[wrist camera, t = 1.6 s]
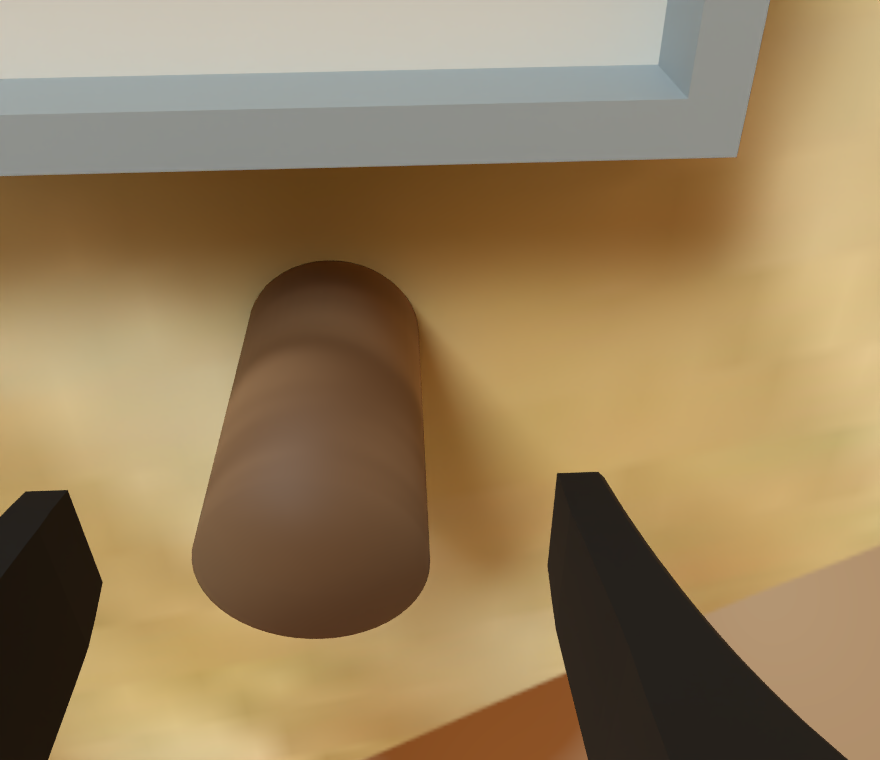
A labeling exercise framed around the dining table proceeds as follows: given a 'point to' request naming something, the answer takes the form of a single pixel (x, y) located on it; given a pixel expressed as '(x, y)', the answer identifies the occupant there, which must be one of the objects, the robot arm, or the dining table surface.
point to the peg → (320, 461)
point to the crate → (369, 82)
